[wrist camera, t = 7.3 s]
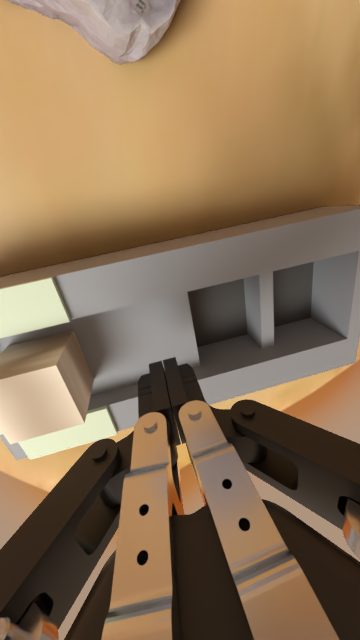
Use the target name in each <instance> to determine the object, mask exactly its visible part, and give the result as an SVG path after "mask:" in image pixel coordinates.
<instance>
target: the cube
mask: <svg viewBox="0 0 360 640" xmlns="http://www.w3.org/2000/svg"><path fill="white" fill-rule="evenodd" d="M93 382H94V378H93V376H92V373H91V371H90V369H89V366H88V364H87V361H86V359H85V357H84V354H83V352H82V350H81V347H80V345H79V343H78V340H77V338H76V336H75V333H74V331H73V330H70V331H66V332H62V333H58V334H54V335H50V336H46V337H42V338H38V339H34V340H30V341H25V342H21V343H17V344H13V345H9V346H7V347H6V348H5V349H4V351H3V352H2V353H1V354H0V431H1V432H2V433H3V435H4V436H5V438H6V439H7V440H8V442H9V443H10V444H14V443H17V442H21V441H24V440H28V439H31V438H35V437H38V436H42V435H46V434H49V433H53V432H56V431H60V430H63V429H67V428H70V427H74V426H77V425H81V424H85V419H86V415H87V410H88V405H89V401H90V396H91V391H92V387H93Z"/></svg>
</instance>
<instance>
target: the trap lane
mask: <svg viewBox="0 0 360 640" xmlns="http://www.w3.org/2000/svg"><path fill="white" fill-rule="evenodd" d="M70 330H73V331H74V333H75V336H76V338H77V340H78V343H79V345H80V347H81V350H82V352H83V354H84V357H85V359H86V361H87V364H88V366H89V369H90V371H91V373H92V376H93V378H94V382H93V387H92V391H91V396H90V401H89V405H88V410H87V415H86V419H85V424H81V425H77V426H74V427H70V428H67V429H63V430H60V431H56V432H53V433H49V434H46V435H42V436H38V437H35V438H31V439H28V440H24V441H21V442H17V443H14V444H10V443H9V442H8V440H7V439H6V438H5V436H4V435H3V433H2V432H1V431H0V438H1V439H2V441H3V442H4V443H5V445H6V446H7V447H8V449H9V450H10V452H11V453H12V454H13V456H14V457H15V458H16V460H19V459H23V458H26V457H28V458H29V459H30V460H31V459H35V458H38V457H42V456H45V455H49V454H52V453H55V452H59V451H62V450H66V449H69V448H73V447H76V446H80V445H83V444H87V443H90V442H94V441H97V440H100V439H104V438H107V437H111V436H114V435H117V431H120V430H123V429H127V428H130V427H134V426H135V424H136V422H137V421H138V419H139V414H138V381H139V379H140V377H141V375H145V374H149V373H150V372H149V364H150V363H154V362H158V361H162V363H163V360H165V359H169V358H173V357H176V361H177V364H178V365H182V364H186V363H187V364H189V365H190V366H191V367H192V368H193V370H194V372H195V375H196V378H197V381H198V383H199V385H200V388H201V391H202V393H203V396H204V398H205V401H206V402H207V404H208V405H210V404H214V403H217V402H221V401H224V400H228V399H231V398H235V397H238V396H242V395H245V394H248V393H252V392H255V391H259V390H262V389H266V388H269V387H273V386H276V385H280V384H283V383H287V382H290V381H294V380H297V379H301V378H304V377H308V376H311V375H315V374H318V373H321V372H325V371H328V370H332V369H335V368H339V367H342V366H346V365H349V364H353V363H355V362H356V355H357V349H358V343H359V336H360V205H348V206H324V207H320V208H315V209H310V210H306V211H301V212H296V213H292V214H287V215H283V216H278V217H273V218H269V219H264V220H260V221H255V222H250V223H246V224H241V225H236V226H232V227H227V228H223V229H218V230H213V231H209V232H204V233H199V234H195V235H190V236H186V237H181V238H176V239H172V240H167V241H163V242H158V243H153V244H149V245H144V246H139V247H135V248H130V249H126V250H121V251H116V252H112V253H107V254H103V255H98V256H93V257H89V258H84V259H79V260H75V261H70V262H66V263H61V264H56V265H52V266H47V267H43V268H38V269H33V270H29V271H24V272H19V273H15V274H10V275H6V276H1V277H0V354H1V353H2V352H3V351H4V349H5V348H6V347H7V346H9V345H13V344H17V343H21V342H25V341H30V340H34V339H38V338H42V337H46V336H50V335H54V334H58V333H62V332H66V331H70ZM163 367H164V364H163ZM164 371H165V369H164Z"/></svg>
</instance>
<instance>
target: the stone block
mask: <svg viewBox="0 0 360 640" xmlns="http://www.w3.org/2000/svg"><path fill="white" fill-rule="evenodd" d="M8 1H10V2H12V3H14V4H17V5H21V6H22V7H24V8H25V9H29V10H33V11H36V12H38V13H40V14H42V15H44V16H46V17H49V18H52V19H60V20H61V21H63V22H65V23H66V24H68V25H70V26H71V27H72V28H73V29H74V30H76V31H77V32H78V33H79V34H80V35H81V36H82V37H84V39H85V40H86V41H87V42H88V43H89V44H90V45H91V46H92V47H93V48H94V49H96V50H97V51H99V52H101V53H102V54H104V55H105V56H107V57H108V58H110V60H111V61H113V62H115V63H118V64H123V63H129V62H135V61H138V60H140V59H141V58H143V57H144V56H146V55H147V53H148V52H149V51H150V50H151V49H152V48H153V47H154V46H155V45H156V44H157V43H158V42H159V41H160V40H161V39H162V37H163V35H164V33H165V32H166V30H167V29H168V28H169V26H170V24H171V21H172V19H173V17H174V14H175V12H176V9H177V7H178V5H179V3H180V1H181V0H8Z"/></svg>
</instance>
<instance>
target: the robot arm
mask: <svg viewBox="0 0 360 640" xmlns="http://www.w3.org/2000/svg"><path fill="white" fill-rule="evenodd" d="M163 364H164V367H163ZM164 369H165V371H164ZM149 372H150V373H149V374H145V375H141V377H140V379H139V381H138V414H139V419H138V421H137V422H136V424H135V426H134V431H133V432H132V433H131V434H130V435H128V436H127V437H125V438H124V439H122V440H120V441H119V442H117V443H116V442H115V441H114V440H112V439H101V440H99V441H97V442H95V443H93V444H92V445H91V446H90V447H89V448H88V449H87V450H86V451H85V452H84V454H83V455H82V456H81V457H80V458H79V459H78V460H77V462H76V463H75V464H74V465H73V466H72V467H71V469H70V470H69V471H68V472H67V473H66V474H65V476H64V477H63V478H62V479H61V480H60V481H59V482H58V484H57V485H56V486H55V487H54V488H53V489H52V491H51V492H50V493H49V494H48V495H47V496H46V498H45V499H44V500H43V501H42V502H41V503H40V504H39V506H38V507H37V508H36V509H35V510H34V511H33V513H32V514H31V515H30V516H29V517H28V518H27V520H26V521H25V522H24V523H23V524H22V525H21V526H20V528H19V529H18V530H17V531H16V533H15V534H14V535H13V536H12V537H11V538H10V539H9V541H8V542H7V543H6V544H5V545H4V546H3V547H2V549H1V550H0V640H58V639H59V638H58V629H59V627H60V626H61V624H62V622H63V621H64V619H65V617H66V615H67V614H68V612H69V610H70V609H71V607H72V605H73V604H74V602H75V600H76V598H77V597H78V595H79V593H80V591H81V590H82V588H83V586H84V585H85V583H86V581H87V580H88V578H89V576H90V575H91V573H92V571H93V569H94V568H95V566H96V564H97V562H98V561H99V559H100V558H101V556H102V554H103V552H104V551H105V549H106V547H107V546H108V544H109V542H110V541H111V539H112V537H113V535H114V534H115V532H116V530H117V529H118V527H119V529H118V538H117V548H116V550H115V551H114V553H113V554H112V555H111V556H110V558H109V559H108V561H107V562H106V564H105V565H104V567H103V568H102V570H101V572H100V574H99V576H98V578H97V580H96V581H95V583H94V585H93V587H92V589H91V591H90V593H89V594H88V596H87V598H86V600H85V602H84V604H83V606H82V607H81V610H80V611H79V613H78V615H77V617H76V619H75V620H74V623H73V624H72V626H71V628H70V630H69V632H68V634H67V635H66V637H65V639H64V640H360V562H359V561H357V560H356V559H355V558H353V557H352V556H351V555H349V554H348V553H346V552H345V551H344V550H342V549H341V548H339V547H338V546H337V545H335V544H334V543H332V542H331V541H329V540H328V539H327V538H325V537H324V536H322V535H321V534H319V533H318V532H317V531H315V530H314V529H313V528H311V527H310V526H308V525H307V524H306V523H304V522H303V521H301V520H300V519H298V518H297V517H296V516H294V515H293V514H291V513H290V512H289V511H287V510H286V509H284V508H282V507H280V506H279V505H277V504H275V503H272V502H270V501H267V500H263V499H261V498H260V496H259V494H258V492H257V490H256V488H255V486H254V484H253V482H252V480H251V478H250V477H249V475H248V473H247V471H249V472H251V473H252V474H254V475H255V476H257V477H258V478H260V479H262V480H263V481H265V482H266V483H268V484H270V485H271V486H273V487H275V488H276V489H278V490H279V491H281V492H282V493H284V494H286V495H287V496H289V497H290V498H292V499H294V500H295V501H297V502H298V503H300V504H302V505H303V506H305V507H306V508H308V509H310V510H311V511H313V512H315V513H316V514H318V515H319V516H321V517H322V518H324V519H326V520H327V521H329V522H330V523H332V524H334V525H335V526H337V527H338V528H340V529H342V530H343V535H344V538H345V540H346V542H347V544H348V546H349V547H350V548H351V550H352V551H353V553H354V554H355V555H356V556H357V557H358V558H359V559H360V444H358V443H356V442H353V441H351V440H348V439H346V438H344V437H341V436H338V435H336V434H334V433H332V432H329V431H327V430H324V429H322V428H319V427H317V426H314V425H312V424H310V423H307V422H305V421H302V420H300V419H297V418H295V417H292V416H290V415H287V414H285V413H283V412H280V411H278V410H275V409H273V408H271V407H268V406H266V405H263V404H261V403H258V402H256V401H253V400H241V401H238V402H236V403H235V404H234V405H233V406H232V408H231V409H229V410H222V409H216V408H213V407H211V406H210V405H208V404H207V402H206V401H205V398H204V396H203V393H202V391H201V388H200V385H199V383H198V381H197V378H196V375H195V372H194V370H193V368H192V367H191V366H190V365H189V364H187V363H186V364H182V365H178V364H177V361H176V357H173V358H169V359H165V360H163V363H162V361H158V362H154V363H150V364H149ZM176 423H177V424H176ZM177 427H178V428H177ZM178 430H179V433H178ZM179 434H180V438H181V441H182V444H183V443H186V446H187V449H188V453H189V457H190V461H191V464H192V466H193V470H194V473H195V476H196V479H197V482H198V486H199V489H200V492H201V495H202V498H203V501H204V505H205V506H204V507H202V508H201V509H199V510H198V511H196V512H195V513H193V514H190V515H184V509H183V501H182V492H181V481H180V471H179V462H178V453H177V448H176V445H180V444H181V443H180V438H179ZM246 470H247V471H246Z"/></svg>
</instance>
